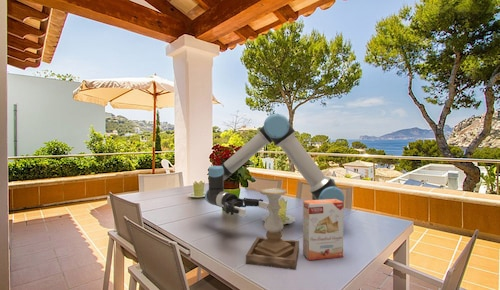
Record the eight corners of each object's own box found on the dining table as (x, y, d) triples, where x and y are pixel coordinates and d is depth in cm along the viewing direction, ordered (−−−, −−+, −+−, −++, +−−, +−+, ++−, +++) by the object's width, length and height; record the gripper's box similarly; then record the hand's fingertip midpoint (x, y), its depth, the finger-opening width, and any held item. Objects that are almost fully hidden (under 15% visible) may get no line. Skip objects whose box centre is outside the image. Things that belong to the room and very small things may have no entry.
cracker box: (309, 261, 92) (308, 203, 91) (302, 254, 98) (302, 199, 97) (344, 257, 94) (344, 201, 94) (335, 250, 100) (335, 197, 100)
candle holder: (253, 252, 97) (253, 190, 96) (272, 244, 105) (271, 186, 104) (276, 262, 89) (275, 194, 89) (294, 252, 97) (293, 190, 96)
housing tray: (299, 248, 103) (299, 240, 103) (295, 269, 86) (295, 260, 86) (257, 244, 107) (257, 237, 107) (246, 263, 91) (245, 255, 91)
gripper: (247, 204, 128) (278, 213, 112) (204, 213, 112) (233, 225, 96) (247, 189, 128) (278, 196, 112) (204, 196, 112) (233, 206, 95)
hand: (257, 209), depth 104 cm, fingers open, 13 cm apart
